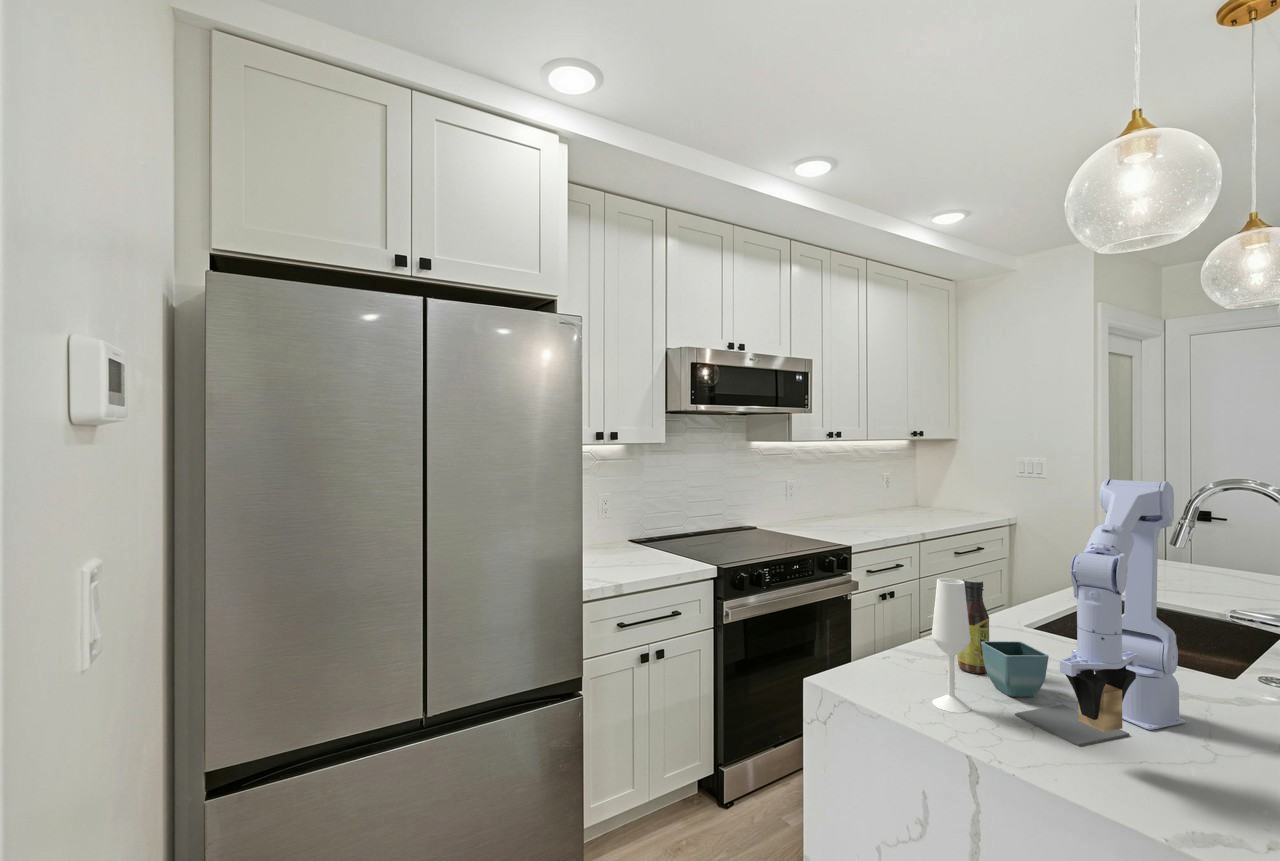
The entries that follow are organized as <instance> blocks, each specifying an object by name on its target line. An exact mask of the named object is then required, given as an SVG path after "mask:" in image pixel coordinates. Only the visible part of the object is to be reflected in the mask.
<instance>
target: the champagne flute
mask: <svg viewBox="0 0 1280 861" xmlns="http://www.w3.org/2000/svg"><path fill="white" fill-rule="evenodd" d="M935 589H936V590H935V597H934V598H935V599H934V607H933V608H934V609H933V617H932V628H931V638H932V641H933V642H934V643H935V645H936V646H937V647H938V648H939V649H941V650H940V651H942V652H943V653H944V654H946V655H947V694H945V695H943V696H939V697H937V698H936V697H935V698H934V699H932V703H931V704H932V705H933V706H935V707H936V708H938V709H940V710H943V711H945V712H950V713H957V714H964V713H969V712H970V711H972V710H971V709H972V708H971V706H970V705H969V704H968V703H966V702H965V701H964V700H962V699H961V698H959V697H957V696H956V695H955V691H956V690H955V687H956V686H955V685H956V684H955V675H956V674H955V656H958V654H959V653H960V652H962V651H963V650H965V649H966V648H967V647H968V645H969V644H970V641H971V639H970V630H969V621H968V611H967V602H966V593H965V584H964V581H963V580H961V579H957V578H947V577H944V578H943V577H941V578H937V579H936V587H935Z"/></svg>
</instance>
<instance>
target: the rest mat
mask: <svg viewBox="0 0 1280 861" xmlns="http://www.w3.org/2000/svg"><path fill="white" fill-rule="evenodd" d="M1014 715H1015V716H1016V717H1018V718H1020V719H1022V720H1023V721H1026V722H1029V723H1031V724H1033V725H1034V726H1037V727H1038V728H1040V729H1043V730H1044V731H1046V732H1049V733H1050V734H1053V735H1055V736H1057V737H1058V738H1061V739H1063V740H1065V741H1067V742H1069V743H1071V744H1073V745H1075V746H1077V747H1082V746H1086V745H1092V744H1096V743H1097V744H1098V743H1100V742H1101V743H1102V742H1105V741H1106V742H1107V741H1110V740H1115V739H1121V738H1124V737H1130V733H1129V732H1127V731H1125V730H1123V729H1117V730H1112V731H1107V732H1102V731H1100V730H1098V729H1096V728H1094V727H1091V726H1089V725H1087V724H1085V723H1083V722H1080V721H1079V714H1078V710H1077V709H1074V708H1072V707H1070V706H1067V705H1065V704H1057V705H1052V706H1047V707H1041V708H1036V709H1030V710H1029V709H1028V710H1024V711H1019V712H1014Z"/></svg>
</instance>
